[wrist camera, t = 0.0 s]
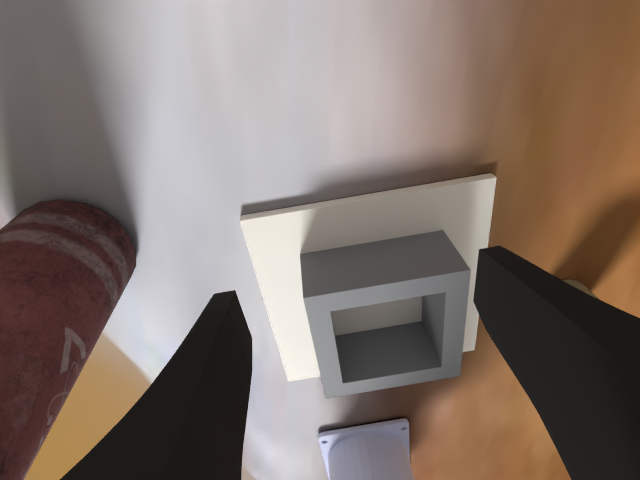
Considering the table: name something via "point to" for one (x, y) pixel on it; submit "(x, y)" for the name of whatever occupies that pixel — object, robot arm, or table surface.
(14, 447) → the can
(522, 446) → the table surface
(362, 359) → the socket
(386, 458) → the robot arm
